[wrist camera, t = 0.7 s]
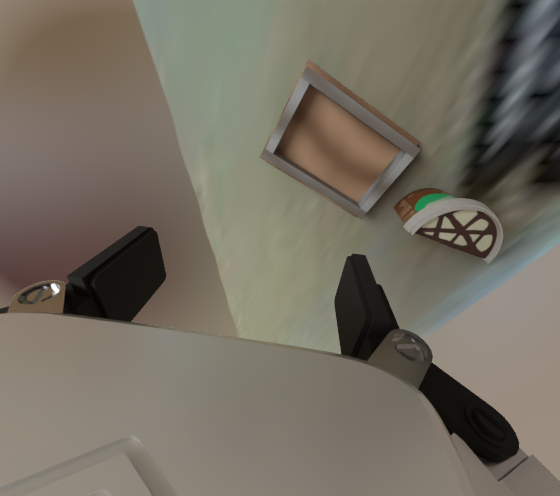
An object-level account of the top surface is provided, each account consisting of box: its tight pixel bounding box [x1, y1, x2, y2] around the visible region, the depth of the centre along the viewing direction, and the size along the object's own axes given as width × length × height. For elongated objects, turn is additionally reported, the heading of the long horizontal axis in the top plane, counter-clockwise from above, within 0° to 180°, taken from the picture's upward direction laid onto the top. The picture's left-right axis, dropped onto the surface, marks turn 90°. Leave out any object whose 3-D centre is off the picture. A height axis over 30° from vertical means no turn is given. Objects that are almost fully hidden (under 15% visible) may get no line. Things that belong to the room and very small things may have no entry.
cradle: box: [260, 60, 421, 219], centre depth 32 cm, size 13×18×4 cm
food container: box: [394, 188, 503, 264], centre depth 32 cm, size 12×6×10 cm, turn 71°
